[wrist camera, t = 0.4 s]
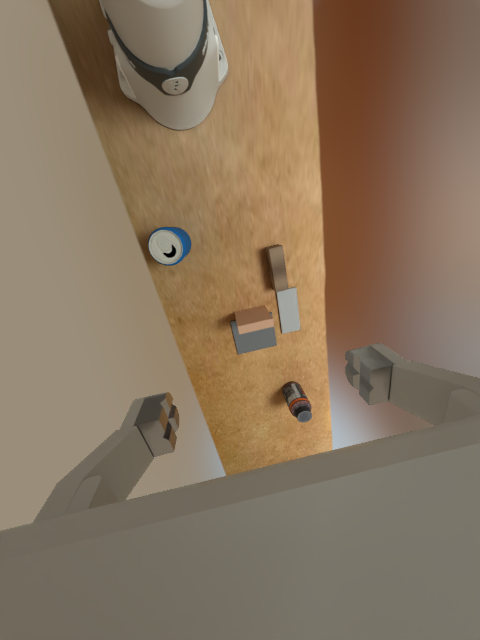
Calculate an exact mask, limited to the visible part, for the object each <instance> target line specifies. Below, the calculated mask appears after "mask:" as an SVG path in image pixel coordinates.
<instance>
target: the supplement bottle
mask: <svg viewBox="0 0 480 640" xmlns="http://www.w3.org/2000/svg"><path fill="white" fill-rule="evenodd" d="M282 391H283V395H284V397H285V400H286V402H287V405H288V407H289V410H290V412H291V414H292V415H293V416H295V417H297V419H298V421H300V422H307V421H309V420H310V419H311V418H312V413H311V404H310V402H309V400H308V398H307V397H306V395H305V393H304V391H303V389H302V388H301V386H300V385H299V384H298V383H297V382H289V383H287V384H286V385H285V386H284V387H283V390H282Z"/></svg>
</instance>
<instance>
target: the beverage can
mask: <svg viewBox="0 0 480 640" xmlns="http://www.w3.org/2000/svg"><path fill="white" fill-rule="evenodd" d="M148 248H149V251H150V254H151V255H152V257H153V258H154V259H155V260H156V261H157V262H159V263H161V264H163V265H168V266H171V265H175V264H178V263H179V262H180V261H181V260H182V259H183V258H184V257H185V256H186V255H187V254H188V253H189V252H190V249H191V240H190V237H189V235H188V234H187V233H186V232H185V231H184V230H182V229H181V228H177V227H161V228H158V229H156V230H155V231H153V233H152V234H151V235H150V237H149V241H148Z"/></svg>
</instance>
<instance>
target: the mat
mask: <svg viewBox="0 0 480 640" xmlns="http://www.w3.org/2000/svg"><path fill="white" fill-rule="evenodd" d="M270 315H271V316H272V312H270ZM272 318H273V317H272ZM231 326H232V331H233V335H234V339H235V343H236V347H237V351H238V354H242V353H246V352H250V351H255V350H259V349H263V348H268V347H272V346H276V345H277V344H276V337H275V331H274V327H270V328H265V329H261V330H257V331H252V332H248V333H244V334H239V331H238V327H237V322H236V320H235V321H231Z"/></svg>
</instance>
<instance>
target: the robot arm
mask: <svg viewBox="0 0 480 640" xmlns="http://www.w3.org/2000/svg"><path fill="white" fill-rule="evenodd" d="M99 2H100V6H101V9H102V12H103V14H104V16H105V18H107V20H108V22H109V25H110V29H111V30H108V36H109V39H110V42H111V44H112V45H113V47H114V54H115V60H116V66H117V72H118V78H119V84H120V88H121V90H122V92H123V93H124V95H125V96H126V97H128V98H129V99H131V100H133V101H135V102H137V103H139V104H140V105H141V106H142V107H143V108H144V109H145V110H146V111H147V112H148V113H149V114H150V115H151V116H152V117H153V118H154V119H155V120H156V121H157V122H159V123H160V124H162V125H164V126H166V127H168V128H171V129H176V130H185V129H190V128H192V127H195V126H196V125H198V124H199V123H201V122H202V121H203V120H204V119H205V118H206V116H207V115H208V114H209V112H210V110H211V108H212V106H213V103H214V100H215V96H216V93H217V90H218V88H219V86H220V85H221V84H222V83H223V81H224V80H225V78H226V77H227V74H228V62H227V59H226V56H225V53H224V49H223V46H222V43H221V40H220V37H219V33H218V30H217V27H216V24H215V20H214V17H213V14H212V11H211V8H210V4H209V1H208V0H99ZM219 57H220V58H221V60H220V61H219ZM124 78H125V79H124ZM345 359H346V360H347V361H348V364H347V365H346V367H345V373H346V376H347V379H348V381H349V383H350V384H351V385H352V386H353V387H354V388H357V389H359V394H360V395H361V397H363V399H364V400H365V401H366V402H367V403H368V404H369V405H373V404H377V403H382V402H387V401H389V402H390V403H392V404H394V405H396V406H398V407H400V408H402V409H404V410H406V411H408V412H410V413H412V414H413V415H415V416H417V417H419V418H421V419H423V420H425V421H427V422H429V423H431V424H433V425H435V426H431V427H427V428H423V429H419V430H414V431H410V432H406V433H402V434H398V435H394V436H390V437H385V438H381V439H377V440H373V441H369V442H365V443H361V444H356V445H353V446H348V447H344V448H340V449H336V450H332V451H328V452H323V453H319V454H315V455H311V456H307V457H303V458H299V459H295V460H290V461H286V462H282V463H278V464H274V465H270V466H266V467H262V468H257V469H253V470H249V471H245V472H241V473H237V474H233V475H229V476H224V477H220V478H216V479H212V480H208V481H204V482H200V483H196V484H192V485H188V486H184V487H179V488H175V489H171V490H167V491H163V492H158V493H154V494H150V495H146V496H142V497H138V498H134V499H130V500H126V498H127V497H128V495H129V494H130V492H131V491H132V489H133V487H134V486H135V485H136V484H137V482H138V481H139V479H140V478H141V476H142V475H143V473H144V472H145V471H146V469H147V468H148V466H149V465H150V463H151V462H152V460H153V459H154V457H156V456H160V455H164V454H167V453H171V452H174V449H175V444H176V438H177V437H176V435H175V432H176V431H177V429H178V427H179V414H178V410H177V407H176V406H174V405H173V404H172V401H173V398H172V396H171V394H170V393H168V392H167V393H163V394H158V395H153V396H148V397H144V398H139V399H135V400H134V401H133V402H132V404H131V407H130V409H129V411H128V413H127V415H126V417H125V419H124V421H123V423H122V426H121V428H120V430H116V431H115V432H114V433H113V434H112V435H110V436H109V437H108V438H107V439H106V440H105V441H104V442H103V443H102V444H101V445H99V446H98V447H97V448H96V449H95V450H94V451H93V452H92V453H90V455H88V456H87V457H86V458H85V459H84V460H83V461H82V462H81V463H79V464H78V465H77V466H76V467H75V468H74V469H73V470H72V471H70V472H69V473H68V475H66V476H65V477H64V478H63V479H62V480H61V481H59V482H58V483H57V484H56V486H55V488H54V489H53V491H52V493H51V494H50V496H49V497H48V499H47V501H46V502H45V504H44V506H43V507H42V509H41V510H40V512H39V513H38V515H37V517H36V519H35V520H34V522H33V523H31V524H27V525H22V526H18V527H14V528H10V529H6V530H2V531H0V640H480V378H477V377H473V376H469V375H465V374H461V373H457V372H453V371H450V370H446V369H442V368H437V367H434V366H429V365H426V364H422V363H418V362H414V361H410V362H408V361H407V360H405V359H404V358H402V357H401V356H399V355H398V354H396V353H395V352H393V351H392V350H391V349H389V348H388V347H386V346H385V345H383V344H381V343H376V344H372V345H369V346H367V347H362V348H358V349H353V350H349V351H346V354H345Z"/></svg>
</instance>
